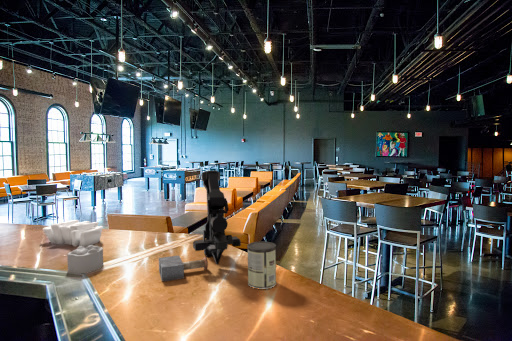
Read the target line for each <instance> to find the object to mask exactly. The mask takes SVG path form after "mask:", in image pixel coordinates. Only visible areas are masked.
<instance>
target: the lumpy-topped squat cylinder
mask: <svg viewBox="0 0 512 341" xmlns="http://www.w3.org/2000/svg"><path fill="white" fill-rule="evenodd" d="M103 266H104V248H103V247H102V246H98V245H95V244H94V245H90V246H88V247H83V246H80V245H79V246H77V247H76V249H73V250H72V251H70V252H68V253H67V273H69V274H71V273H72V274H75V275H82V274H81V273H85V274H88V273H91V272H94V271H96V269H97V270H98V268H99V269H101V268H102V267H103ZM100 267H101V268H100ZM93 270H94V271H93ZM90 271H91V272H90ZM87 272H88V273H87Z"/></svg>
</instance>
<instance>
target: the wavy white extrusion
mask: <svg viewBox="0 0 512 341" xmlns="http://www.w3.org/2000/svg"><path fill="white" fill-rule="evenodd" d="M103 228H104V226H103V225H100V226H99V222H97V221H94V222H91V221H89V220H84V221H80V220H79V219H73V220H68V221H67V220H66V221H63V222H59V223H58V222H57V223H54V224H51V225H50V226H45V227H43V228H42V231H43V233H44V234H45V236H46V237H47V239H48V241H49V243H50V244H57V245H72V247H76V248H77V247H80V246H83V247H88V246H90V245H94V246H95V245H96V244H97V243H99V242H100V241H101V236H102V232H103Z"/></svg>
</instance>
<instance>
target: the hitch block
mask: <svg viewBox="0 0 512 341" xmlns="http://www.w3.org/2000/svg"><path fill="white" fill-rule="evenodd" d="M183 262H184V261H182V258H181V256H180V255H172V256H164V257H162V256H161V257H158V271H159V272H158V273H159V276H160V280H161V282H168V281H174V280H176V281H177V280H182V279H185V270H184V264H183Z"/></svg>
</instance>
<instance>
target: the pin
mask: <svg viewBox="0 0 512 341" xmlns="http://www.w3.org/2000/svg"><path fill="white" fill-rule="evenodd" d="M182 262H183V264H184V271H187V270H194V269H200V268H203V269H204V270H208V267H209V262H208V257H207V256H206V257H205V256H204V257H203V258H202V259H200V260H199V259H197V260H189V261H182Z"/></svg>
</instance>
